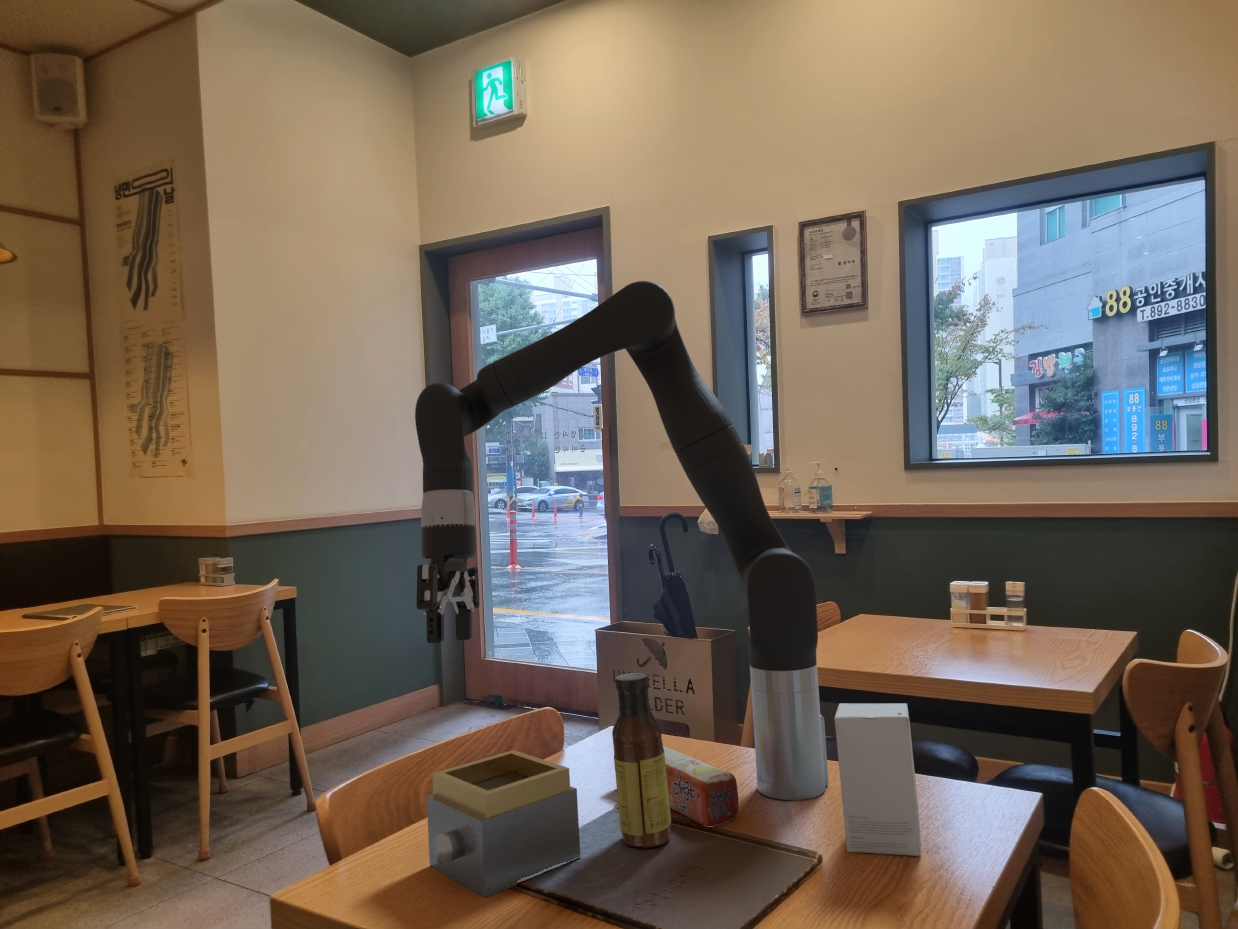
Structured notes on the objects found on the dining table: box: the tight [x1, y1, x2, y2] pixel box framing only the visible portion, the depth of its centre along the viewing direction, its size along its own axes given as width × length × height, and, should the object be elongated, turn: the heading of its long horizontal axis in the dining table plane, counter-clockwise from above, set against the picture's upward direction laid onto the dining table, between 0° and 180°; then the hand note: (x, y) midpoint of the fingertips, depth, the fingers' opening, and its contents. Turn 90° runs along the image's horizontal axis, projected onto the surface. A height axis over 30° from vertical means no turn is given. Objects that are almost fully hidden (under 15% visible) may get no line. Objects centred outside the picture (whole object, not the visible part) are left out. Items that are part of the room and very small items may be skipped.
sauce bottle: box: [611, 672, 672, 849], centre depth 103 cm, size 7×6×20 cm
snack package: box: [663, 745, 739, 827], centre depth 115 cm, size 21×7×7 cm, turn 31°
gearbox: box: [426, 749, 581, 898], centre depth 98 cm, size 15×12×10 cm
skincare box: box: [833, 702, 922, 857], centre depth 97 cm, size 8×7×16 cm
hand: (450, 641), depth 116 cm, fingers open, 8 cm apart
